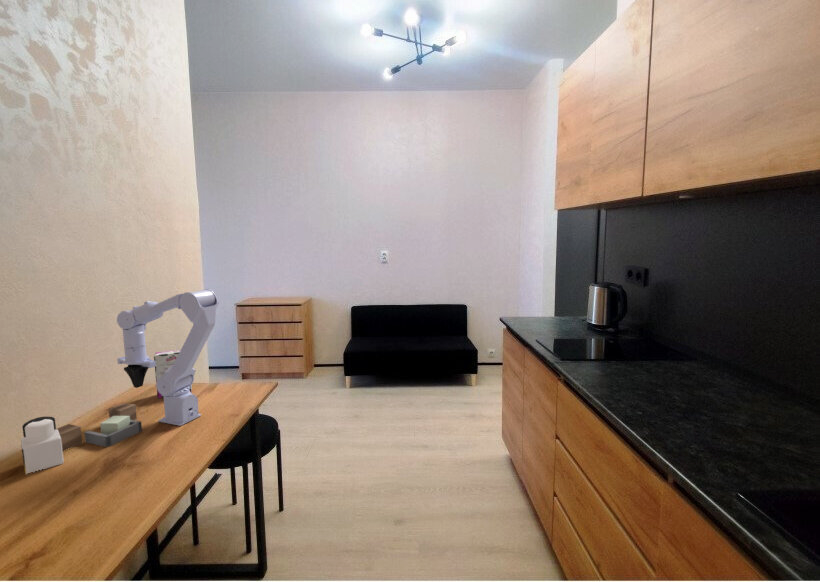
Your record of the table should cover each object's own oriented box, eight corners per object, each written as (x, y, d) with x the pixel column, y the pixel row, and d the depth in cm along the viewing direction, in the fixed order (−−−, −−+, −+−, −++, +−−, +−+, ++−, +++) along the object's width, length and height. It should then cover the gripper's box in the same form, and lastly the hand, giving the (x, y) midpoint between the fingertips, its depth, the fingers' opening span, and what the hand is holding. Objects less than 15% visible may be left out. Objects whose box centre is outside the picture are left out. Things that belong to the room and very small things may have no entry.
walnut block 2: (136, 419, 126) (135, 404, 125) (121, 426, 121) (119, 410, 121) (125, 417, 127) (124, 402, 127) (110, 423, 123) (108, 408, 122)
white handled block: (23, 464, 100) (18, 420, 99) (60, 453, 105) (55, 411, 104) (25, 475, 95) (19, 429, 94) (64, 463, 100) (59, 419, 99)
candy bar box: (192, 388, 152) (189, 348, 150) (191, 393, 148) (188, 351, 146) (158, 393, 147) (155, 351, 145) (156, 398, 143) (153, 355, 141)
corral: (142, 431, 118) (141, 421, 117) (107, 447, 108) (106, 437, 108) (120, 426, 121) (119, 417, 120) (85, 442, 111) (84, 432, 111)
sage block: (131, 431, 118) (129, 415, 117) (119, 439, 113) (117, 423, 112) (114, 431, 118) (113, 415, 117) (101, 439, 113) (100, 423, 112)
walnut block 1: (82, 443, 111) (80, 426, 110) (62, 451, 106) (60, 434, 106) (70, 440, 112) (68, 424, 112) (49, 448, 108) (48, 431, 107)
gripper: (163, 345, 127) (166, 384, 129) (131, 341, 132) (134, 380, 134) (142, 350, 121) (145, 392, 122) (109, 346, 125) (113, 387, 127)
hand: (138, 386), depth 128 cm, fingers closed
